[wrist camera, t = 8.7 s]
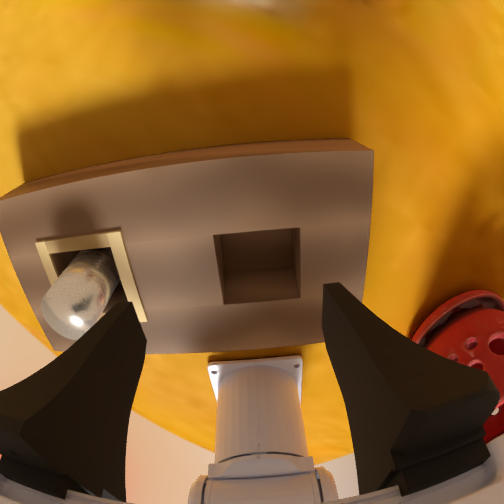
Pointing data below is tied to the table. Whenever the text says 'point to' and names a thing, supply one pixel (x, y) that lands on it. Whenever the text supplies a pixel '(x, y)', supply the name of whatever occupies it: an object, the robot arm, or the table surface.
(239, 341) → the bore block
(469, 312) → the plant pot
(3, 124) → the table surface
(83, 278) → the pin
